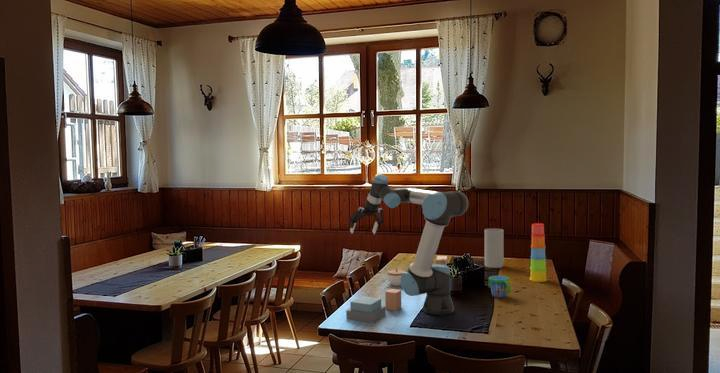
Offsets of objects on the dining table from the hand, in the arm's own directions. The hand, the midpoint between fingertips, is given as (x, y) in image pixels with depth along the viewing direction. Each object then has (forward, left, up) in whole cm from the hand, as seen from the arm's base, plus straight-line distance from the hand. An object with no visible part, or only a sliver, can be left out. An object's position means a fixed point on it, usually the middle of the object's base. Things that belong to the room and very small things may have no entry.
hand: (362, 232), depth 293 cm
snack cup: (-67, -30, -35) cm, 82 cm away
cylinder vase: (-45, -101, -35) cm, 117 cm away
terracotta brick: (-25, +15, -35) cm, 46 cm away
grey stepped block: (-19, +33, -35) cm, 52 cm away
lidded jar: (-6, -29, -36) cm, 47 cm away
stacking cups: (-79, -75, -35) cm, 115 cm away
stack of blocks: (-22, -63, -36) cm, 76 cm away
